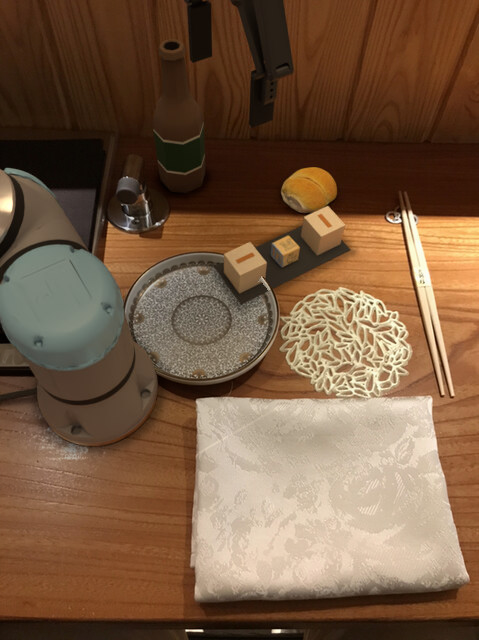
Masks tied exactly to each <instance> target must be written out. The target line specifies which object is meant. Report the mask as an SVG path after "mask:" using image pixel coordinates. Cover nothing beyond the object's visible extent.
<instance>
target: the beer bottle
mask: <svg viewBox="0 0 479 640" xmlns="http://www.w3.org/2000/svg"><path fill="white" fill-rule="evenodd" d="M186 52H187V49H186V46H185V44H184V43H183V42H181V40H179V39H173V38H169V39H166V40H162V41H161V42H160V44H159V46H158V52H157V55H159V56H160V68H161V69H160V72H161V75H160V76H161V96H160V97H159V99H158V101H157V104H156V106H155V108H154V113H153V116H152V130H153V137H154V145H155V152H156V160H157V167H158V168H157V169H158V174H159V178H160V182H162V184H163V185H164V186H165V187H166V188H167V190H168V191H169V192H171V193H178V194H181V193H184V194H189V193H190V192H193V191H194V190H197V189H198V188H201V187H202V186H203V183H204V179H205V175H206V145H205V121H204V114H203V110H202V108H201V106H200V104H199V103H198V102H197V101H196V100H195V98H194V97H193V96H192V94H191V91H190V87H189V81H188V74H187V73H188V72H187V66H186V59H185V55H186Z"/></svg>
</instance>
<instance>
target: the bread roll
mask: <svg viewBox="0 0 479 640" xmlns="http://www.w3.org/2000/svg"><path fill="white" fill-rule="evenodd" d="M280 195H281V197H282V200H283V202H284V203H285V204H286V205H288V206H289V207H290V209H293V210H295V211H296V212H298V213H300V214H311V213H314V212H316V211H318V210H320V209H322V208H324V207H327V206H328V205H329V204H330V203H332V202H333V201H334V200H335V199H336V198H337V195H338V187H337V182H336V181H335V179H334V177H333V176H332V175H331V174H330V173H329V172H328V171H326V170H324V169H323V168H320V167H314V166H313V167H305V168H300V169H298V170H296V171H295V172H294V173H292V174H291V175H290V176H289V177H288V178H287V179H285V180H284V182H283V184H282V187H281V190H280Z"/></svg>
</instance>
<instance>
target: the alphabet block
mask: <svg viewBox="0 0 479 640" xmlns="http://www.w3.org/2000/svg"><path fill="white" fill-rule="evenodd" d="M299 250H300V247H299V246H298V245H297V244H296V243H295V242H294V241H293V240H292V238H291V237H290V236H286V237H284V238H282V239H280V240H278V241H276V242H274V243H272V247H271V256H272V258H273V259H274V260H275V261H276V262H277V263H278V264H279V266H280V267H281V268H282V267H284V266H286V265H288V264H290V263H292V262H294V261H296V260H298V256H299Z"/></svg>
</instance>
